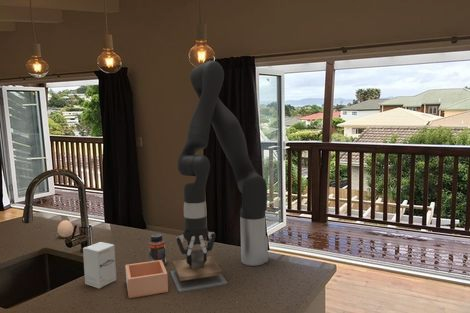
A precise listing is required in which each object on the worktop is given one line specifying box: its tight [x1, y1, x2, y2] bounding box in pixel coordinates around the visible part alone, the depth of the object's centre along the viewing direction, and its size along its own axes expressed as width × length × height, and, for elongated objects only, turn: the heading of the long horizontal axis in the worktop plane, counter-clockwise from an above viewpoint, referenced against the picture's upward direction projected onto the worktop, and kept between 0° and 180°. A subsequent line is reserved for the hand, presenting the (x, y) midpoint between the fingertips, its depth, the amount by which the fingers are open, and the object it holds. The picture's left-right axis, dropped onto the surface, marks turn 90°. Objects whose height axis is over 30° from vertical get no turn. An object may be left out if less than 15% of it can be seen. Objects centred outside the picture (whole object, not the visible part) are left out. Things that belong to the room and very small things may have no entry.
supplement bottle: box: [148, 233, 167, 266], centre depth 145 cm, size 6×6×11 cm
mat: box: [169, 270, 228, 294], centre depth 133 cm, size 16×16×1 cm
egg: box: [57, 219, 74, 238], centre depth 179 cm, size 7×7×8 cm
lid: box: [172, 248, 223, 281], centre depth 133 cm, size 14×14×6 cm
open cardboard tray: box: [125, 260, 169, 299], centre depth 127 cm, size 12×12×6 cm
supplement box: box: [82, 241, 117, 290], centre depth 131 cm, size 7×7×13 cm
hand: (196, 263), depth 133 cm, fingers closed on lid, 4 cm apart
